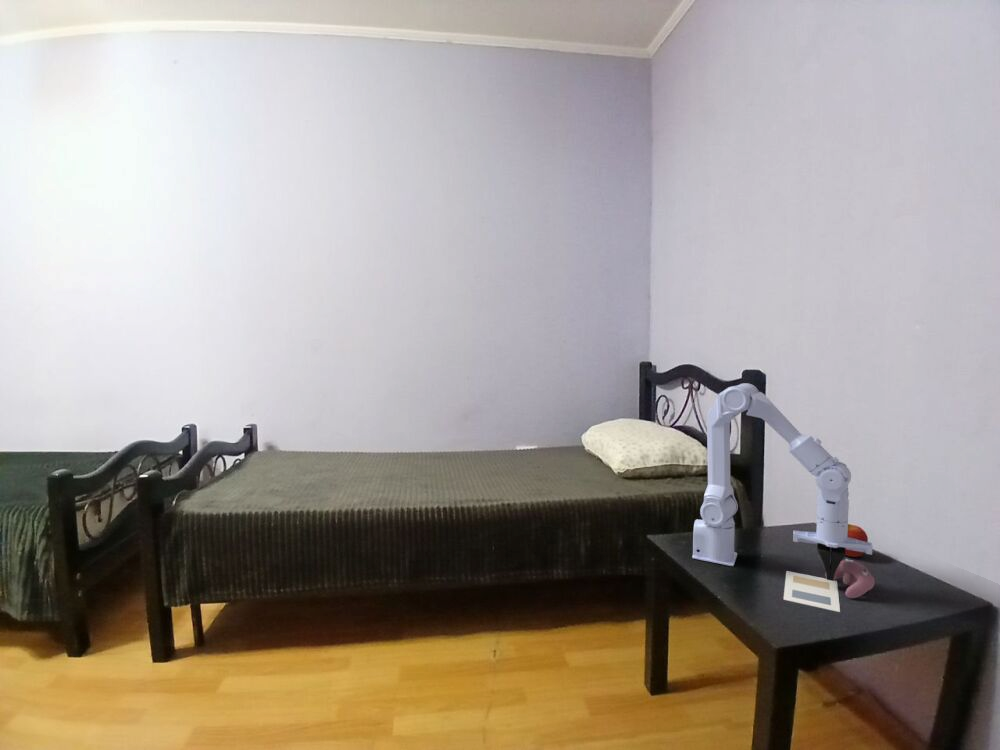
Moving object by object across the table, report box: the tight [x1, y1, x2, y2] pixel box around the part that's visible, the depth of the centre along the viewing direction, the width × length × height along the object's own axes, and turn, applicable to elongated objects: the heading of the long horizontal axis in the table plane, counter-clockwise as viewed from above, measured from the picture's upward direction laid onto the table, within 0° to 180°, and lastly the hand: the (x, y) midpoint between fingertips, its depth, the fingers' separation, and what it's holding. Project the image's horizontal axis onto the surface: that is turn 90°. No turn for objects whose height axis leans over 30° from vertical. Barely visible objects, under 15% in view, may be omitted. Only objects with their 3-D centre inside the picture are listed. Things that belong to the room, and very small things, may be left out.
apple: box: [845, 523, 869, 558], centre depth 131 cm, size 8×8×8 cm
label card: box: [783, 570, 841, 613], centre depth 113 cm, size 10×15×1 cm, turn 149°
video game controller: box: [824, 558, 875, 599], centre depth 113 cm, size 10×5×7 cm, turn 174°
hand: (829, 578), depth 114 cm, fingers closed
